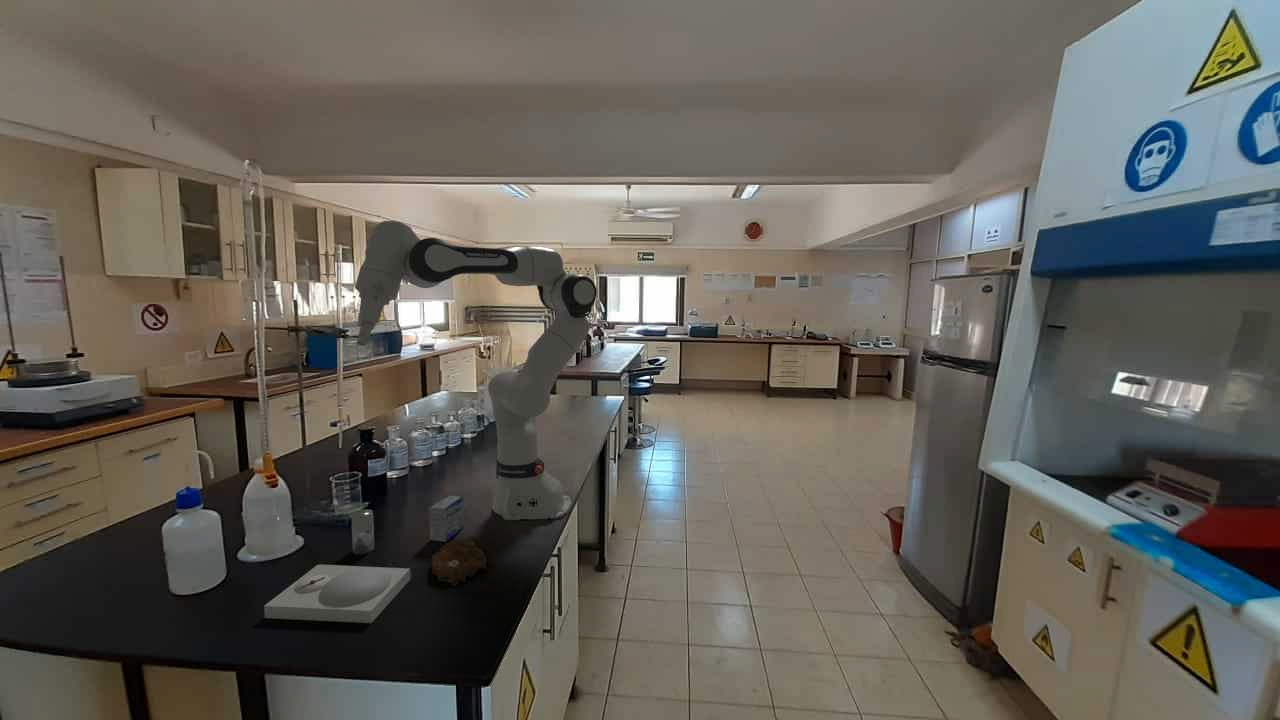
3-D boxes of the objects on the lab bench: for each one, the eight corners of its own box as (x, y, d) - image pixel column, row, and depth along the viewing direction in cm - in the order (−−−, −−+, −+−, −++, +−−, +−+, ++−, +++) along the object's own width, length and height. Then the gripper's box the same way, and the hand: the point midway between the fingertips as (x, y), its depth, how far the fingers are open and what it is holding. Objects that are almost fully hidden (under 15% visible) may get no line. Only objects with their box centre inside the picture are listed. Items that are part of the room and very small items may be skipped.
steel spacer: (378, 545, 114) (376, 509, 113) (367, 554, 110) (365, 517, 109) (360, 544, 114) (358, 508, 113) (348, 553, 110) (347, 517, 109)
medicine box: (445, 542, 116) (444, 509, 115) (429, 540, 117) (428, 507, 116) (463, 528, 124) (463, 496, 123) (448, 526, 125) (447, 494, 124)
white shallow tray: (410, 579, 100) (410, 565, 100) (371, 623, 87) (370, 607, 86) (318, 575, 101) (317, 561, 101) (264, 617, 87) (263, 602, 87)
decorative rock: (427, 558, 110) (436, 595, 97) (426, 542, 109) (434, 577, 96) (478, 544, 116) (492, 577, 103) (477, 529, 115) (491, 560, 102)
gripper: (396, 284, 103) (379, 345, 101) (388, 297, 121) (374, 349, 119) (364, 274, 100) (346, 337, 98) (361, 289, 117) (345, 343, 115)
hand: (361, 344), depth 108 cm, fingers open, 8 cm apart
